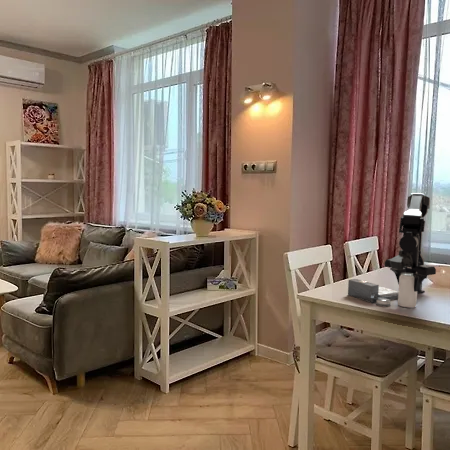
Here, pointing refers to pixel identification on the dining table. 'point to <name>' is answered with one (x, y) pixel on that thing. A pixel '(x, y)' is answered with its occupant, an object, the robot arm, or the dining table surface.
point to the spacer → (383, 302)
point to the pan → (386, 292)
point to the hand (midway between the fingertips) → (407, 289)
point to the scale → (366, 291)
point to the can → (407, 291)
